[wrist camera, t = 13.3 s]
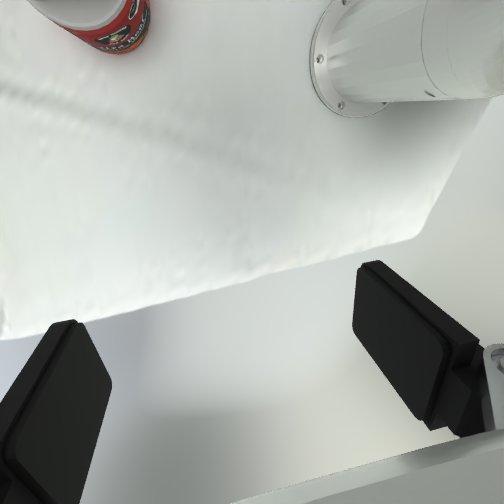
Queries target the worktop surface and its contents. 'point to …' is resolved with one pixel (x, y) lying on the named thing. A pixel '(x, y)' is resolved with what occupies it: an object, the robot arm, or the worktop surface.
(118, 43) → the canned food
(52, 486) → the robot arm
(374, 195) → the worktop surface
